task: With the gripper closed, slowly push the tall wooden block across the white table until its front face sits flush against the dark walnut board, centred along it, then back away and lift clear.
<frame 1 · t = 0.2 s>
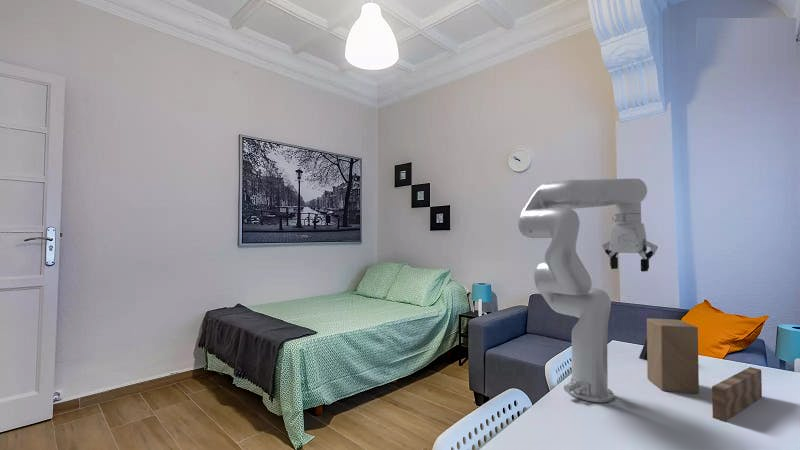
hand: (629, 269, 123), 36 cm above the table, tool pointing down, fingers open, 9 cm apart
phone stand: (656, 361, 138), on the table
walnut board: (738, 406, 101), on the table
wooden block: (671, 386, 114), on the table
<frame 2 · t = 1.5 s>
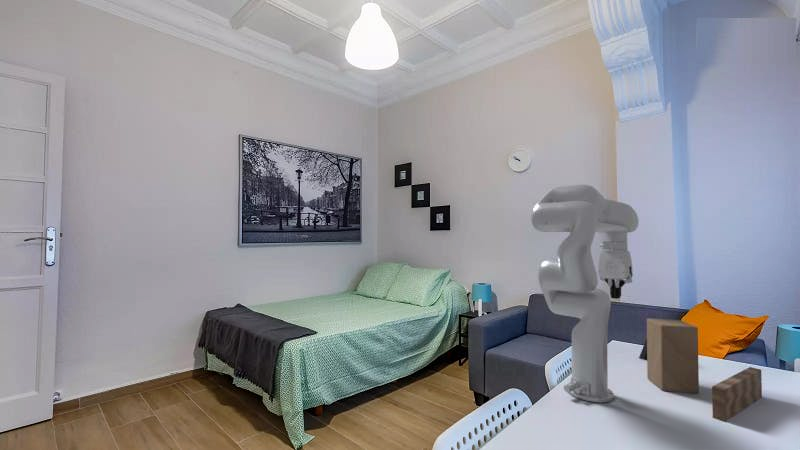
hand: (615, 298, 129), 25 cm above the table, tool pointing down, fingers closed
nothing on the table moved.
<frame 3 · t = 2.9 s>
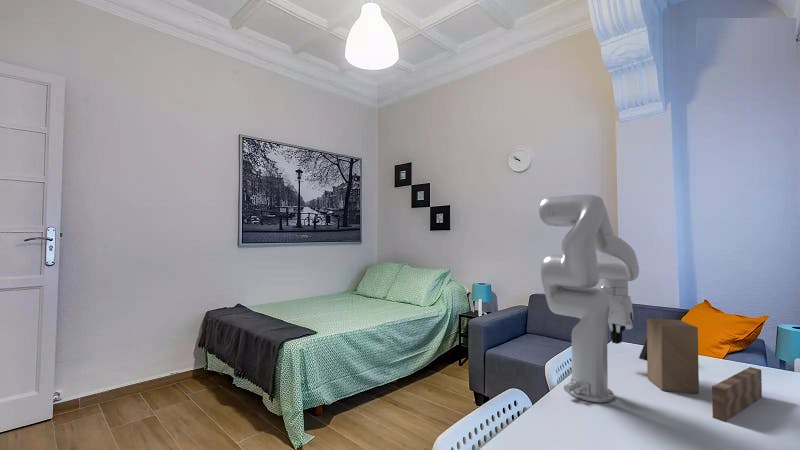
hand: (616, 342, 130), 9 cm above the table, tool pointing down, fingers closed
nothing on the table moved.
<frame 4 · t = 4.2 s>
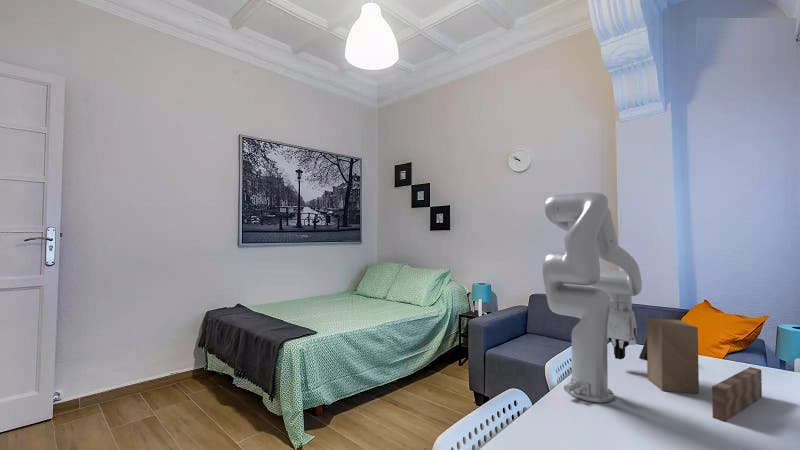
hand: (619, 358, 128), 4 cm above the table, tool pointing down, fingers closed
nothing on the table moved.
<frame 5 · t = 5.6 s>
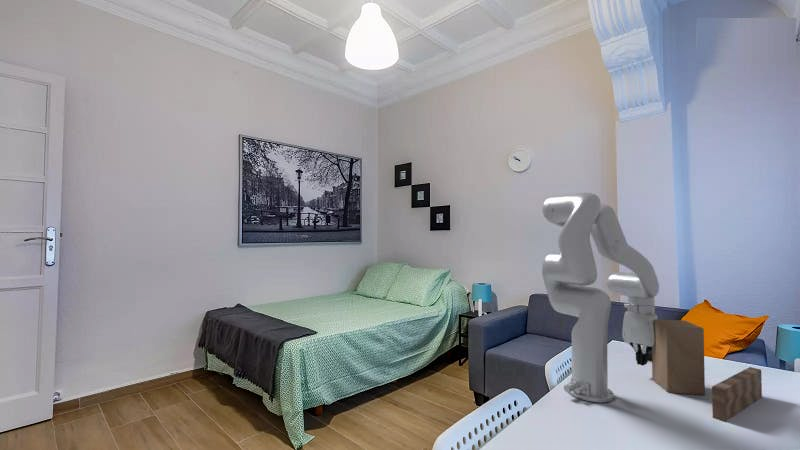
hand: (641, 364, 122), 4 cm above the table, tool pointing down, fingers closed
wooden block: (677, 388, 113), on the table, touching gripper
everything else where it was.
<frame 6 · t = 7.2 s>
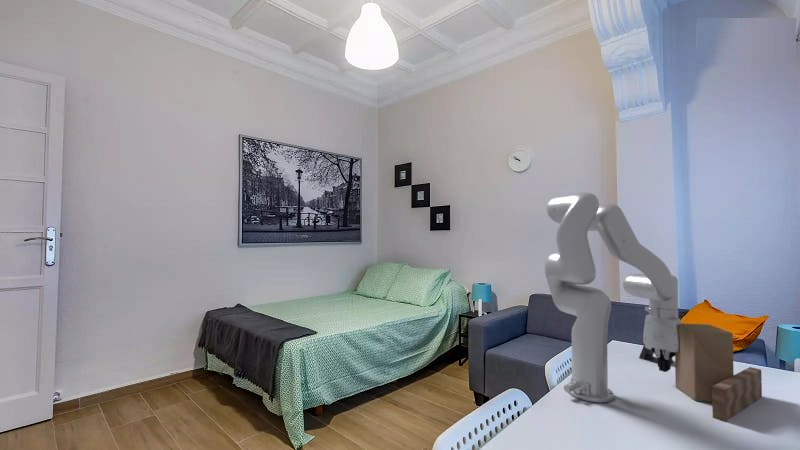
hand: (664, 370, 116), 4 cm above the table, tool pointing down, fingers closed
wooden block: (703, 396, 108), on the table, touching gripper, walnut board
everything else where it was.
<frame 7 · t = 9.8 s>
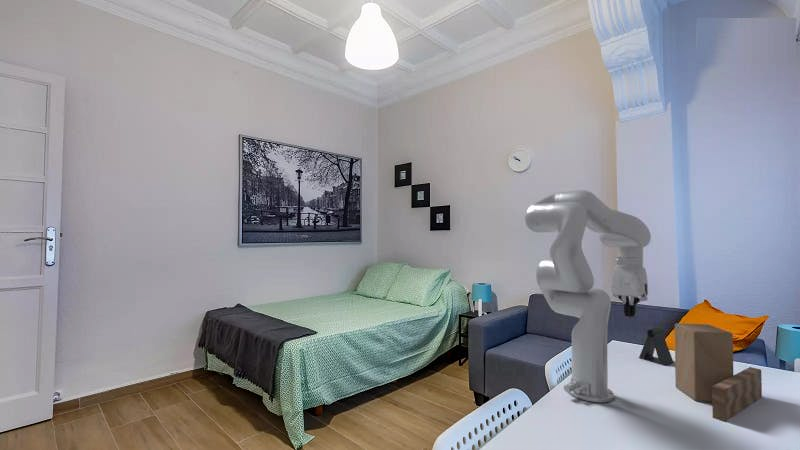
hand: (629, 316, 124), 20 cm above the table, tool pointing down, fingers closed
wooden block: (703, 396, 108), on the table
everything else where it was.
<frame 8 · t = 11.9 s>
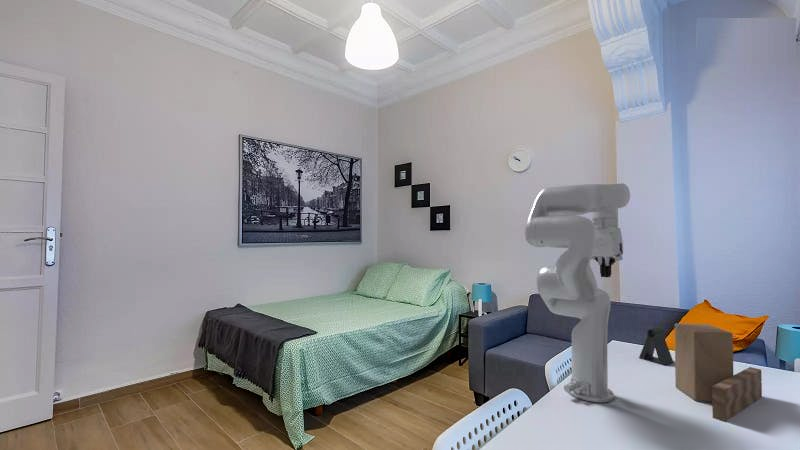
hand: (605, 276, 125), 33 cm above the table, tool pointing down, fingers closed
nothing on the table moved.
at the end: wooden block 0.5 cm from the target spot on the table beside the walnut board, on the table; wooden block tilted 0°; wooden block moved 7.9 cm from its start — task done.
